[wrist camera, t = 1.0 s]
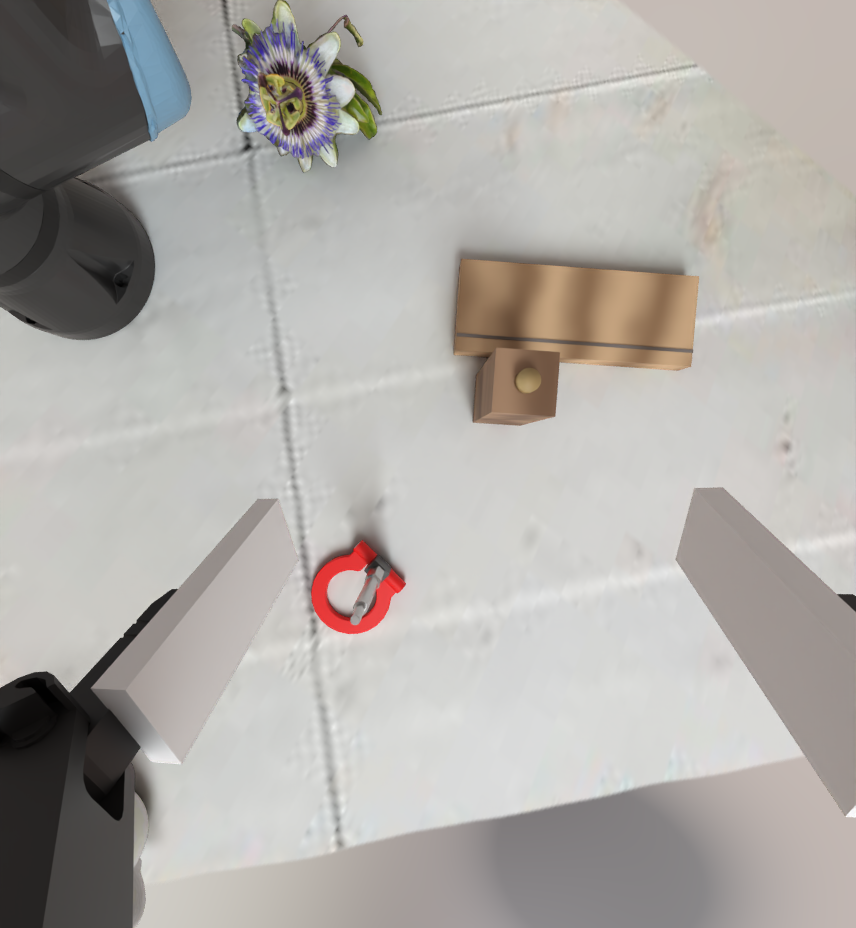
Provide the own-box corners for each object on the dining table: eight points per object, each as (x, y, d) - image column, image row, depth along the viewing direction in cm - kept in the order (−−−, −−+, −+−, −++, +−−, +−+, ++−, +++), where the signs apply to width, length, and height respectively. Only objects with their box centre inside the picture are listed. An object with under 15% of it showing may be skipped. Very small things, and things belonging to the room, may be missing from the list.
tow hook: (353, 644, 42) (413, 586, 42) (316, 734, 29) (402, 652, 29) (298, 590, 42) (358, 531, 41) (237, 657, 29) (322, 573, 29)
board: (453, 354, 41) (455, 349, 39) (459, 268, 40) (461, 258, 38) (678, 370, 41) (691, 366, 39) (685, 284, 41) (699, 276, 39)
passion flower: (322, 198, 45) (220, 150, 36) (316, 88, 43) (205, 4, 33) (397, 170, 39) (299, 103, 29) (395, 40, 37) (288, -81, 27)
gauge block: (472, 422, 41) (493, 410, 29) (476, 375, 41) (498, 344, 29) (519, 425, 41) (559, 415, 29) (523, 378, 41) (565, 348, 29)
